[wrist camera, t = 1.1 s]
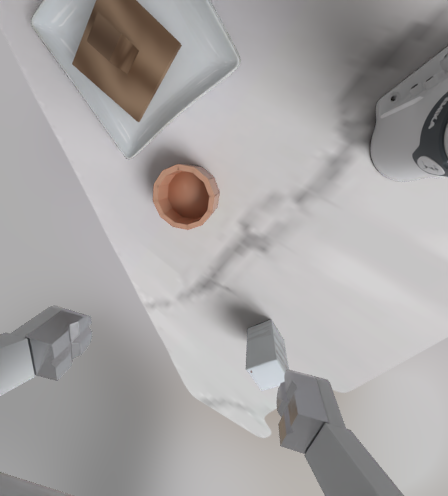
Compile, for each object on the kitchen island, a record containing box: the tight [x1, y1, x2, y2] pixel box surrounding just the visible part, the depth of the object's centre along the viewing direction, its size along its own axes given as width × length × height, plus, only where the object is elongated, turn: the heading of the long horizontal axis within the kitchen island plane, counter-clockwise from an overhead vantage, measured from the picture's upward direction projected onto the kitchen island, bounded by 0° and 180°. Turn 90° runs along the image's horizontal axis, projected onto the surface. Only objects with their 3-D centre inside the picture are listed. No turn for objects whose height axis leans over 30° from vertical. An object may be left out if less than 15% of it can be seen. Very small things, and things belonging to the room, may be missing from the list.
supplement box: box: [246, 320, 289, 391], centre depth 51 cm, size 7×7×13 cm
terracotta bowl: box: [153, 164, 220, 230], centre depth 44 cm, size 12×12×6 cm
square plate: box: [31, 0, 241, 159], centre depth 37 cm, size 27×27×4 cm
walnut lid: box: [72, 0, 182, 122], centre depth 34 cm, size 14×14×6 cm
